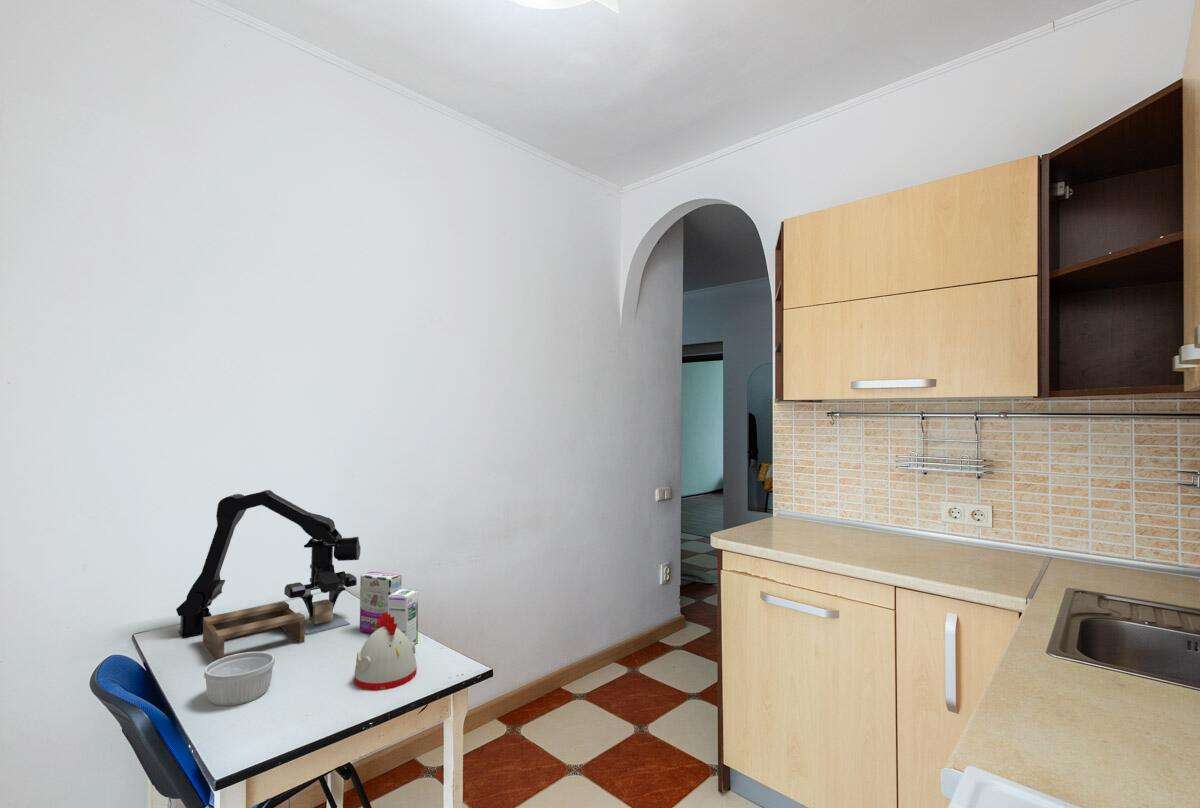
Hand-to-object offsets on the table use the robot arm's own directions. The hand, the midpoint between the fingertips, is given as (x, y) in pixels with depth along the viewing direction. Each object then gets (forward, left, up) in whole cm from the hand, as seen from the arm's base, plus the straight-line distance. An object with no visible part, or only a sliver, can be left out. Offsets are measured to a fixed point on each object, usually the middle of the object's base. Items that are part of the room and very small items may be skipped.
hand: (320, 614), depth 169 cm
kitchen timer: (-1, -46, -3) cm, 46 cm away
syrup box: (+10, -32, -3) cm, 34 cm away
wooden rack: (-18, -2, -3) cm, 18 cm away
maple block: (0, 0, -2) cm, 2 cm away
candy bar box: (+10, -18, -3) cm, 21 cm away
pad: (0, 0, -3) cm, 3 cm away
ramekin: (-28, -32, -3) cm, 43 cm away
